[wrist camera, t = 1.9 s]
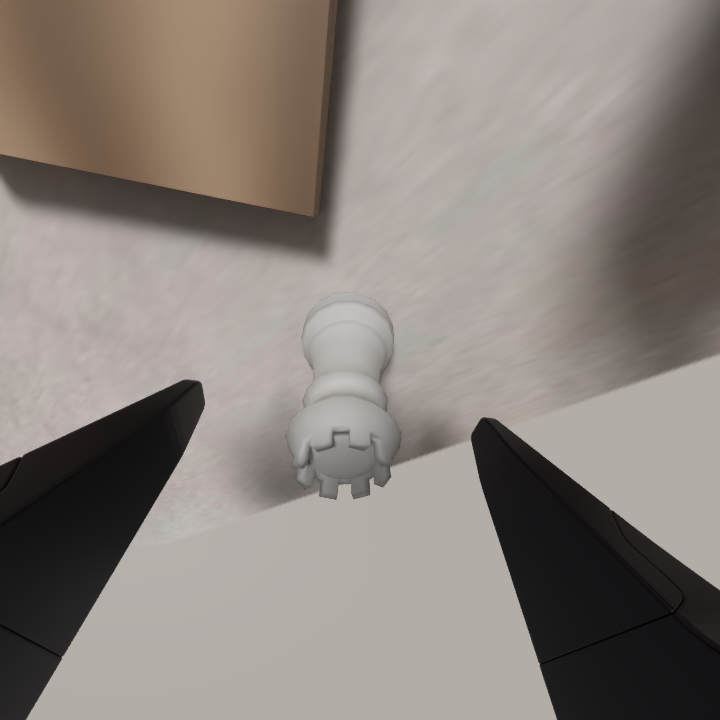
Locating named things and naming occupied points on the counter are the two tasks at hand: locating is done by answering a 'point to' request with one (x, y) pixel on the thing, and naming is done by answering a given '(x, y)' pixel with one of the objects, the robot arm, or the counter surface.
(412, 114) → the counter surface
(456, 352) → the counter surface
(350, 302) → the rook chess piece
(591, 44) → the counter surface
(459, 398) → the counter surface
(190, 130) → the walnut block
